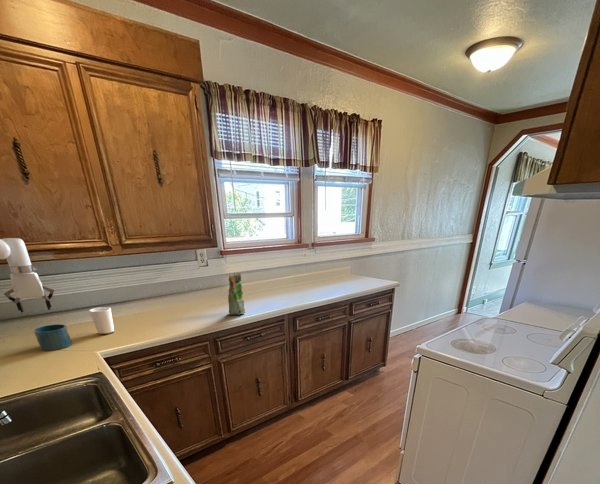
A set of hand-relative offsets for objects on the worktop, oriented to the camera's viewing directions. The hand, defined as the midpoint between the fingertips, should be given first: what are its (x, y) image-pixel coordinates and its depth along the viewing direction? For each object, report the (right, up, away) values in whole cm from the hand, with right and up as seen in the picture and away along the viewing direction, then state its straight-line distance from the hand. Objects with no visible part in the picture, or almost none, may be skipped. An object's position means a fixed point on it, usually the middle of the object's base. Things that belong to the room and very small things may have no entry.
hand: (36, 310), depth 144 cm
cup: (+14, -6, +29) cm, 33 cm away
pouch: (+78, +12, +63) cm, 101 cm away
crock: (+1, -15, +11) cm, 18 cm away
